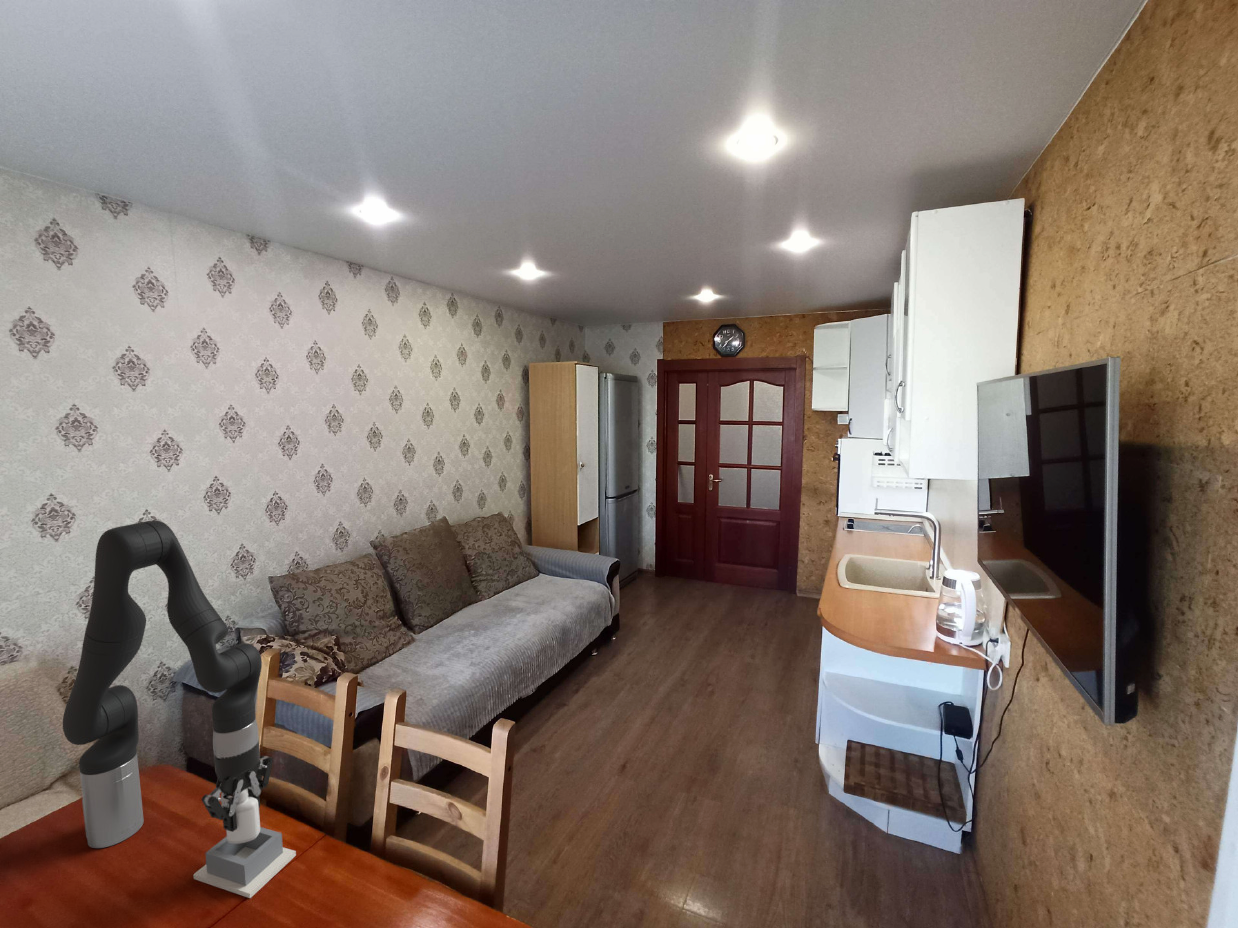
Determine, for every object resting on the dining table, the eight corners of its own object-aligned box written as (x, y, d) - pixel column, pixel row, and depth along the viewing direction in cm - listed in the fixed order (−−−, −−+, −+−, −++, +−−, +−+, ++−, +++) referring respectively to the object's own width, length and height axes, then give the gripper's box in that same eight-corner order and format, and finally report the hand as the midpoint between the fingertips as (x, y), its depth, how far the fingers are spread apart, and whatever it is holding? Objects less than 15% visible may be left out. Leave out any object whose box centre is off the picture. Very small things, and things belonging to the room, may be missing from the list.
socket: (193, 878, 109) (191, 854, 108) (242, 838, 119) (241, 816, 118) (250, 898, 105) (248, 872, 104) (295, 855, 115) (294, 831, 114)
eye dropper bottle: (243, 848, 108) (239, 794, 107) (223, 841, 110) (219, 787, 109) (264, 832, 112) (260, 779, 111) (244, 826, 114) (240, 773, 113)
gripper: (254, 720, 117) (260, 793, 119) (186, 762, 103) (193, 843, 105) (281, 726, 115) (286, 800, 116) (215, 770, 101) (222, 852, 103)
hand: (242, 820), depth 111 cm, fingers closed on eye dropper bottle, 4 cm apart
